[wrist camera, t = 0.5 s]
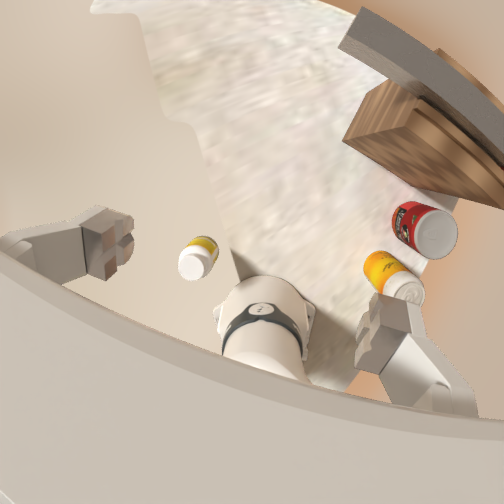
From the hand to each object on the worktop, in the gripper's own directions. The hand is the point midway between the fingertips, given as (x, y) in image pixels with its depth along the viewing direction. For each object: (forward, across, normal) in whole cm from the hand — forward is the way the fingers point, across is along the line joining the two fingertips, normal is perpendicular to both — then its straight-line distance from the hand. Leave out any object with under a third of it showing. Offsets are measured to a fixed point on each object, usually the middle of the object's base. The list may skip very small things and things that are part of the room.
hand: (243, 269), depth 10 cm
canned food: (+47, +19, -12) cm, 52 cm away
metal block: (+23, +11, +9) cm, 27 cm away
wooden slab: (+48, +11, 0) cm, 50 cm away
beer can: (+44, +16, -21) cm, 51 cm away
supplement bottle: (+37, -14, -25) cm, 47 cm away
